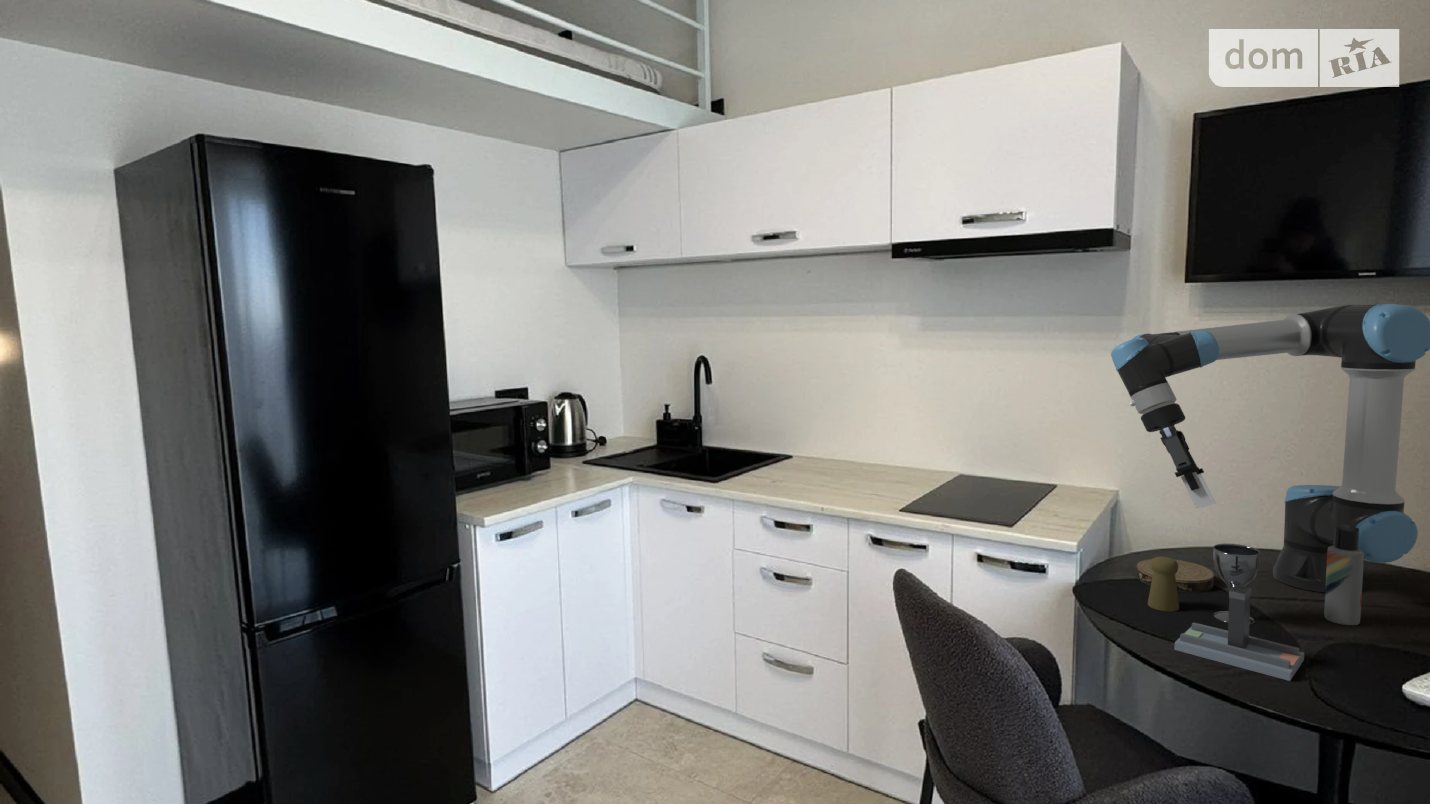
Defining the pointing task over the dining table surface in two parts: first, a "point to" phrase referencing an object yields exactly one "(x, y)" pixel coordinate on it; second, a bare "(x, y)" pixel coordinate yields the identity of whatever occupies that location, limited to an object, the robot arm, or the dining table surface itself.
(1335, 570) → the lotion bottle
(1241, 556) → the wine glass
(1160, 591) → the cork
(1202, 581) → the wood slice
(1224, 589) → the dining table surface
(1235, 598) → the handle
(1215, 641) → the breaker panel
